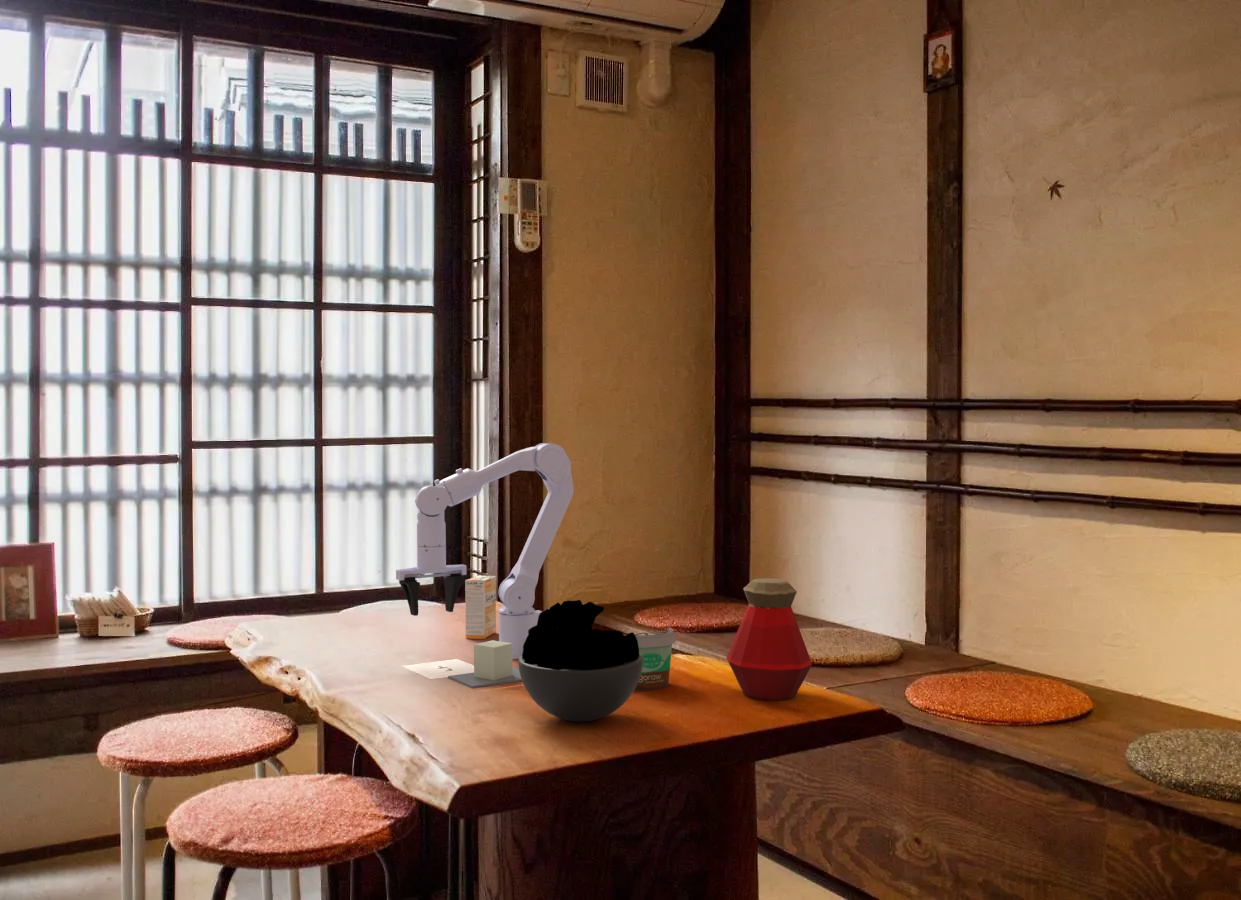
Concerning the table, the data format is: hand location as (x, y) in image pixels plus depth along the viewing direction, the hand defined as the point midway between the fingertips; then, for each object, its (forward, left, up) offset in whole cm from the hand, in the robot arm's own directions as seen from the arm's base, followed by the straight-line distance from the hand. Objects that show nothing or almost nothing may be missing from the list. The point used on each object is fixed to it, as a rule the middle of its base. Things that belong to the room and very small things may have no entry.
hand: (432, 613), depth 234 cm
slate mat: (-2, +23, -9) cm, 25 cm away
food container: (-22, +45, -10) cm, 51 cm away
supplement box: (-20, -18, -10) cm, 29 cm away
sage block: (-2, +23, -9) cm, 25 cm away
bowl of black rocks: (0, +57, -10) cm, 58 cm away
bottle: (-36, +61, -10) cm, 71 cm away
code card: (+2, +10, -9) cm, 14 cm away
